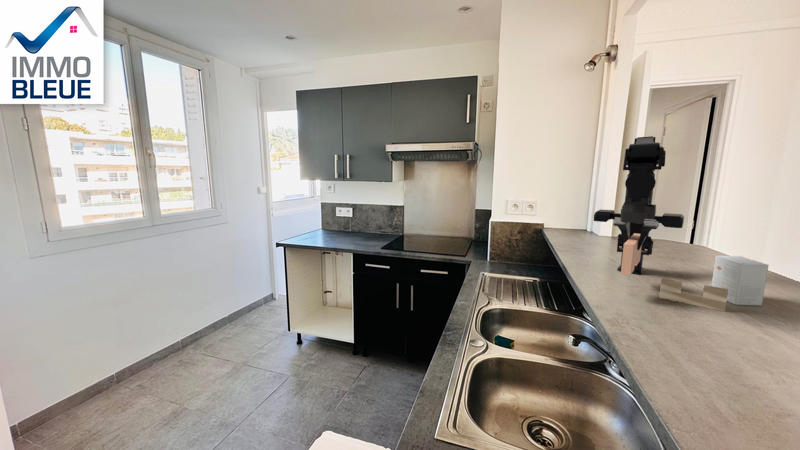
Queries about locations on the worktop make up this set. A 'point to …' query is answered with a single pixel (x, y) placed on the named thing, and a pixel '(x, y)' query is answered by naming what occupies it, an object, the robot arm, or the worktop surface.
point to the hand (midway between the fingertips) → (632, 249)
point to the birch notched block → (694, 295)
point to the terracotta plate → (630, 254)
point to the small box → (740, 279)
